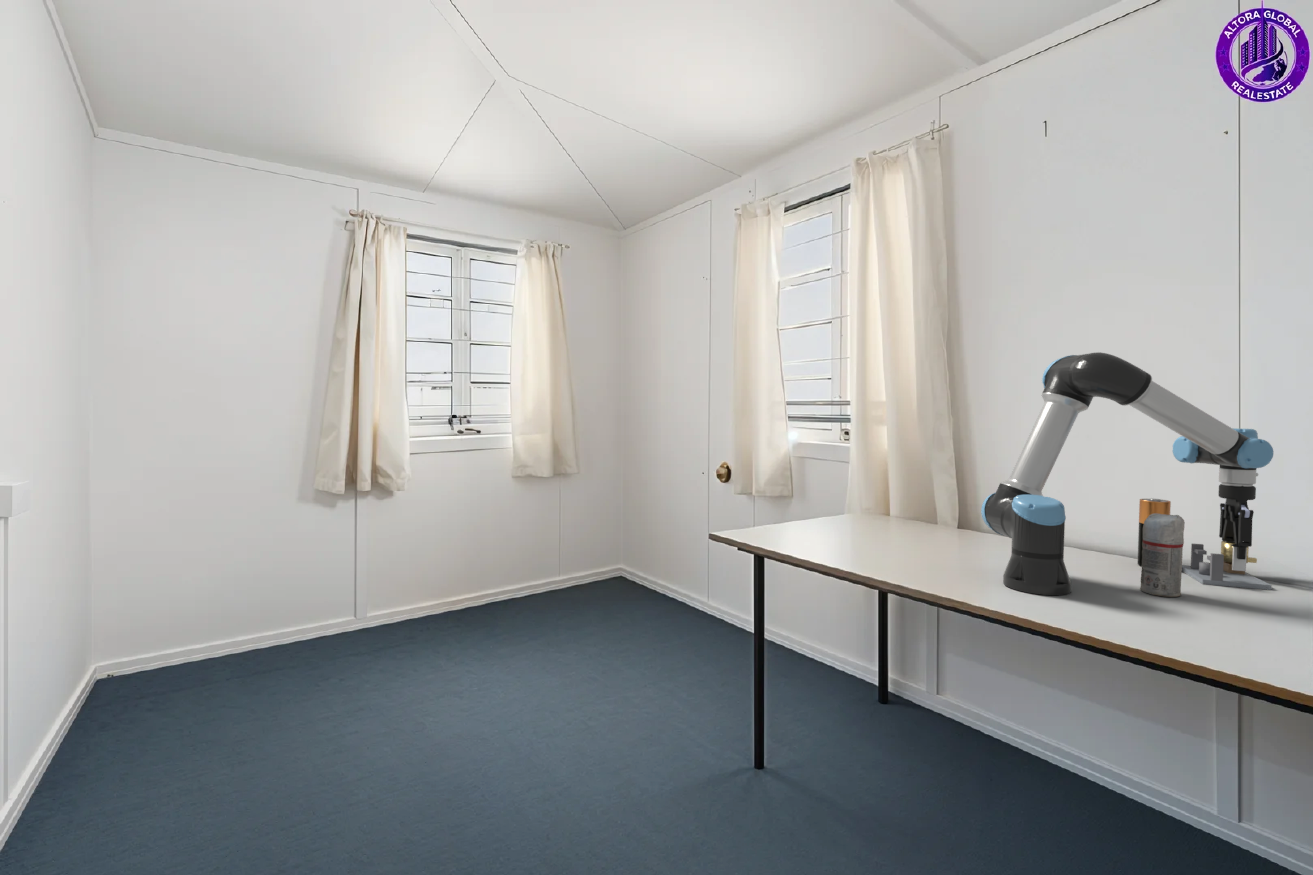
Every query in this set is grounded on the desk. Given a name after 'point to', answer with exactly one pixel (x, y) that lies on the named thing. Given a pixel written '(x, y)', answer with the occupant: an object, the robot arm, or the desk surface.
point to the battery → (1145, 510)
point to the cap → (1228, 552)
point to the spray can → (1162, 555)
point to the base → (1219, 571)
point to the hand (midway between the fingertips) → (1233, 567)
